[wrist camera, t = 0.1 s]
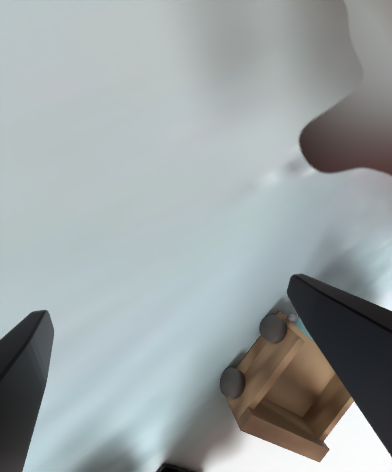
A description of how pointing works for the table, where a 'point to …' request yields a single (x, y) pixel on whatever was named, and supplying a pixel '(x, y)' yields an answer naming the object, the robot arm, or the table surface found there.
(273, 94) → the table surface
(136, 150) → the table surface
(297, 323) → the panel
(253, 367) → the truck bed
